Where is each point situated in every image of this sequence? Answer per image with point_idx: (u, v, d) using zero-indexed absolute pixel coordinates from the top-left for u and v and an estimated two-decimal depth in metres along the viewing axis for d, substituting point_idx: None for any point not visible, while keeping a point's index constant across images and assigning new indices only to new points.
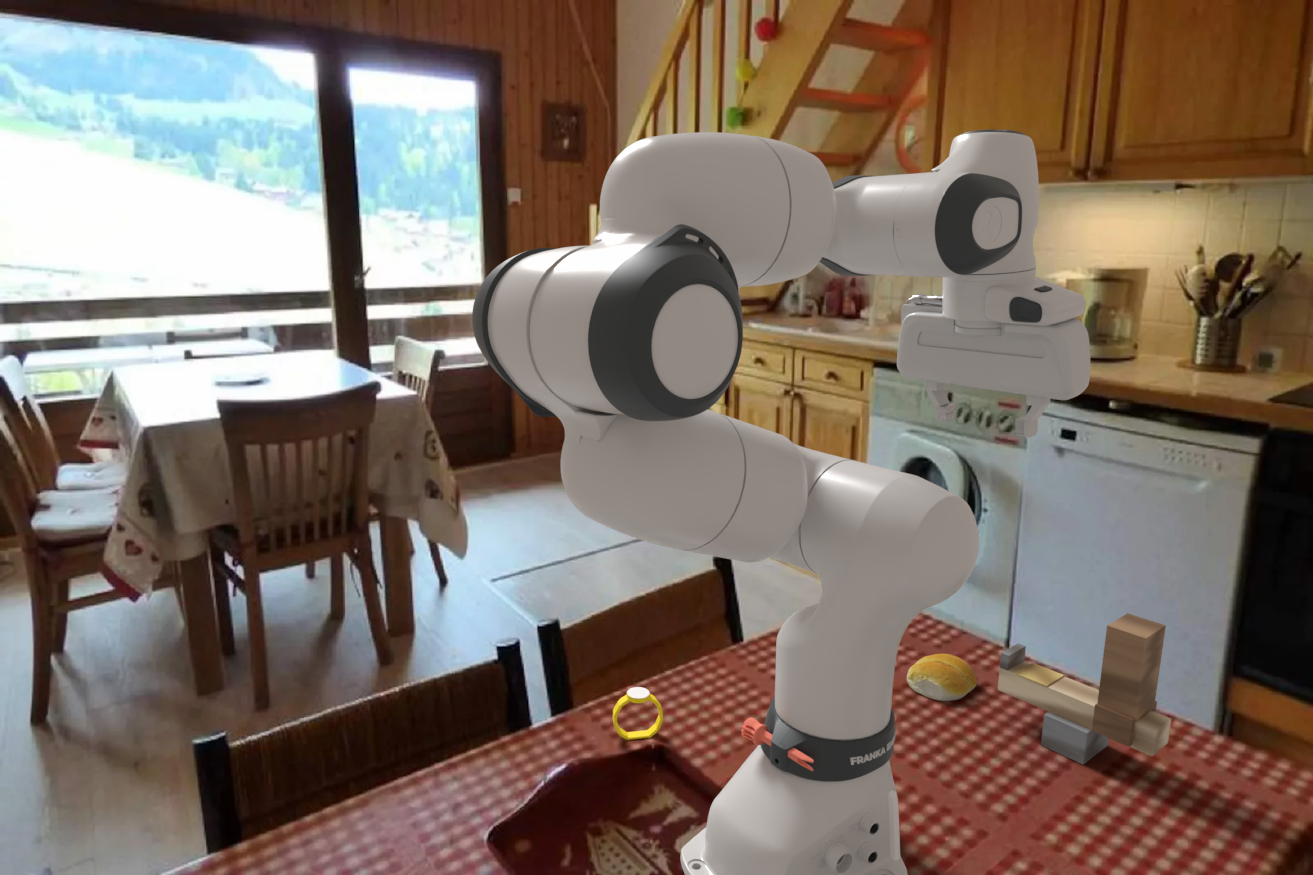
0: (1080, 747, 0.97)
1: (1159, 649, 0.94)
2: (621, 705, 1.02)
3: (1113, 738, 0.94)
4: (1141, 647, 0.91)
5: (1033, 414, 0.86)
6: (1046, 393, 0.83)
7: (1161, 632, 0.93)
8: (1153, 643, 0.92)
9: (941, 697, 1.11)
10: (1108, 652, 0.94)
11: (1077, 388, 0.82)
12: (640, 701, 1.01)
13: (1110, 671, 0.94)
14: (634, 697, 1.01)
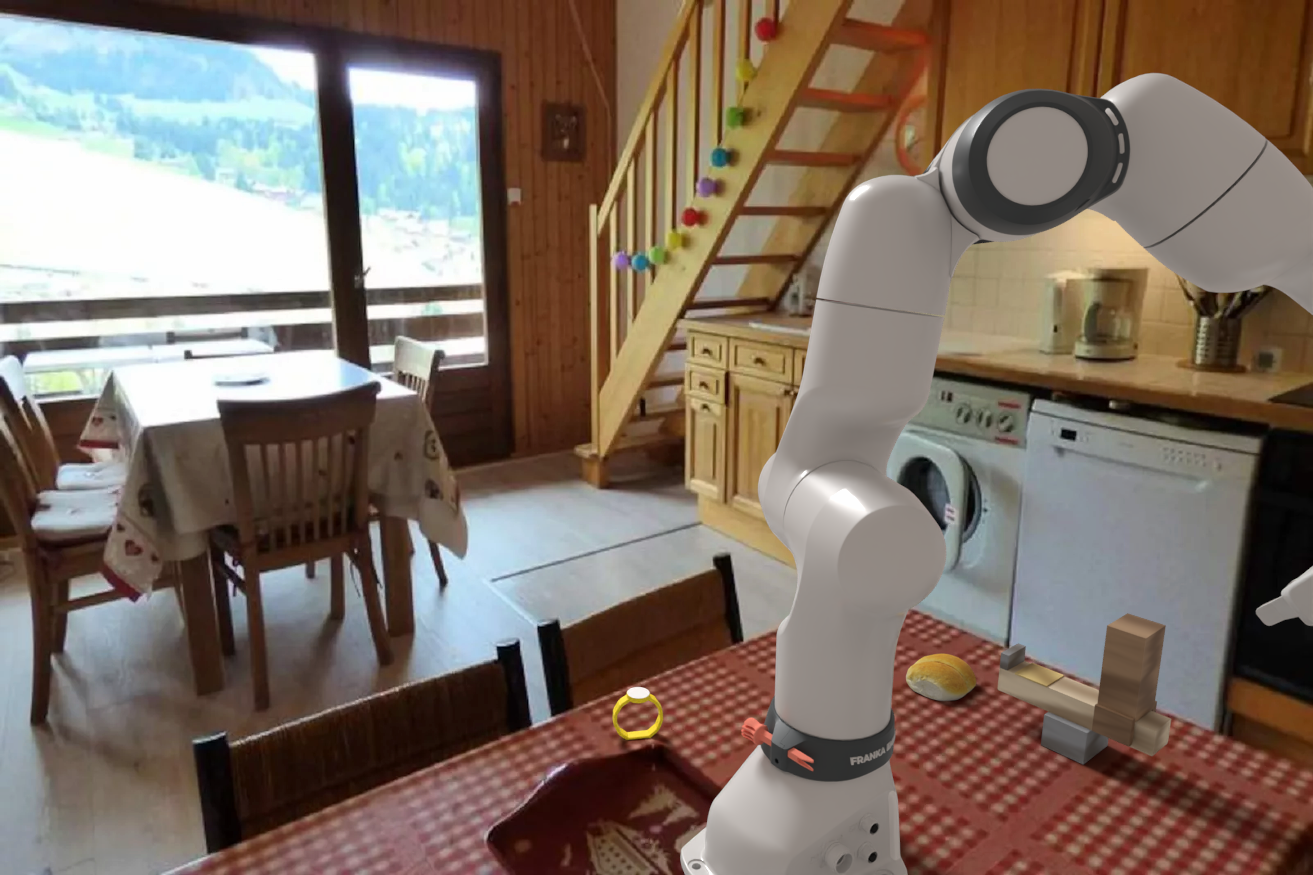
0: (1080, 747, 0.97)
1: (1159, 649, 0.94)
2: (621, 705, 1.02)
3: (1113, 738, 0.94)
4: (1141, 647, 0.91)
5: (1277, 598, 0.78)
6: None
7: (1161, 632, 0.93)
8: (1153, 643, 0.92)
9: (940, 697, 1.11)
10: (1108, 652, 0.94)
11: (1296, 598, 0.73)
12: (640, 701, 1.01)
13: (1110, 671, 0.94)
14: (634, 697, 1.01)
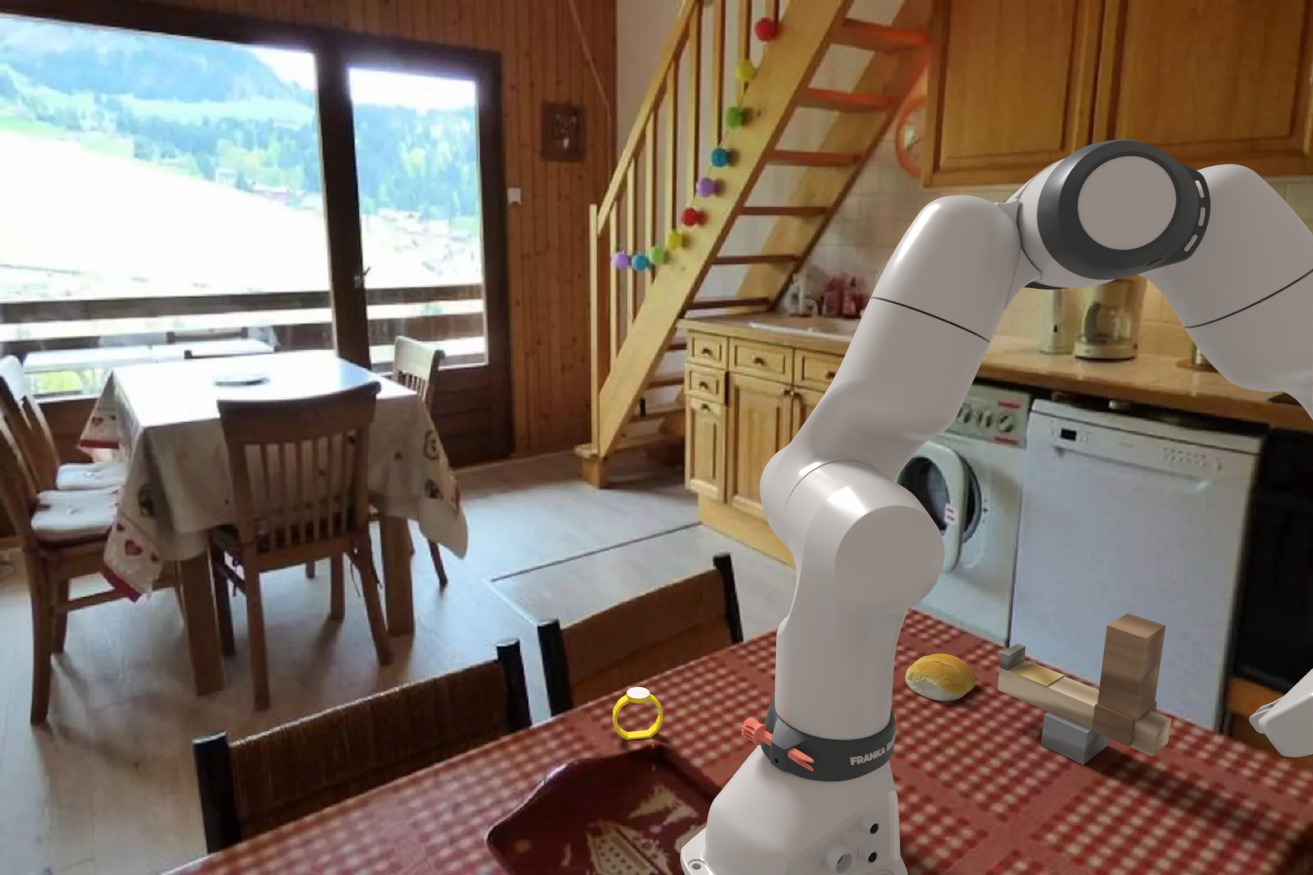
0: (1080, 747, 0.97)
1: (1159, 649, 0.94)
2: (621, 705, 1.02)
3: (1113, 738, 0.94)
4: (1141, 647, 0.91)
5: (1269, 709, 0.83)
6: (1267, 712, 0.78)
7: (1161, 632, 0.93)
8: (1153, 643, 0.92)
9: (940, 697, 1.11)
10: (1108, 652, 0.94)
11: (1272, 730, 0.76)
12: (640, 701, 1.01)
13: (1110, 671, 0.94)
14: (634, 697, 1.01)
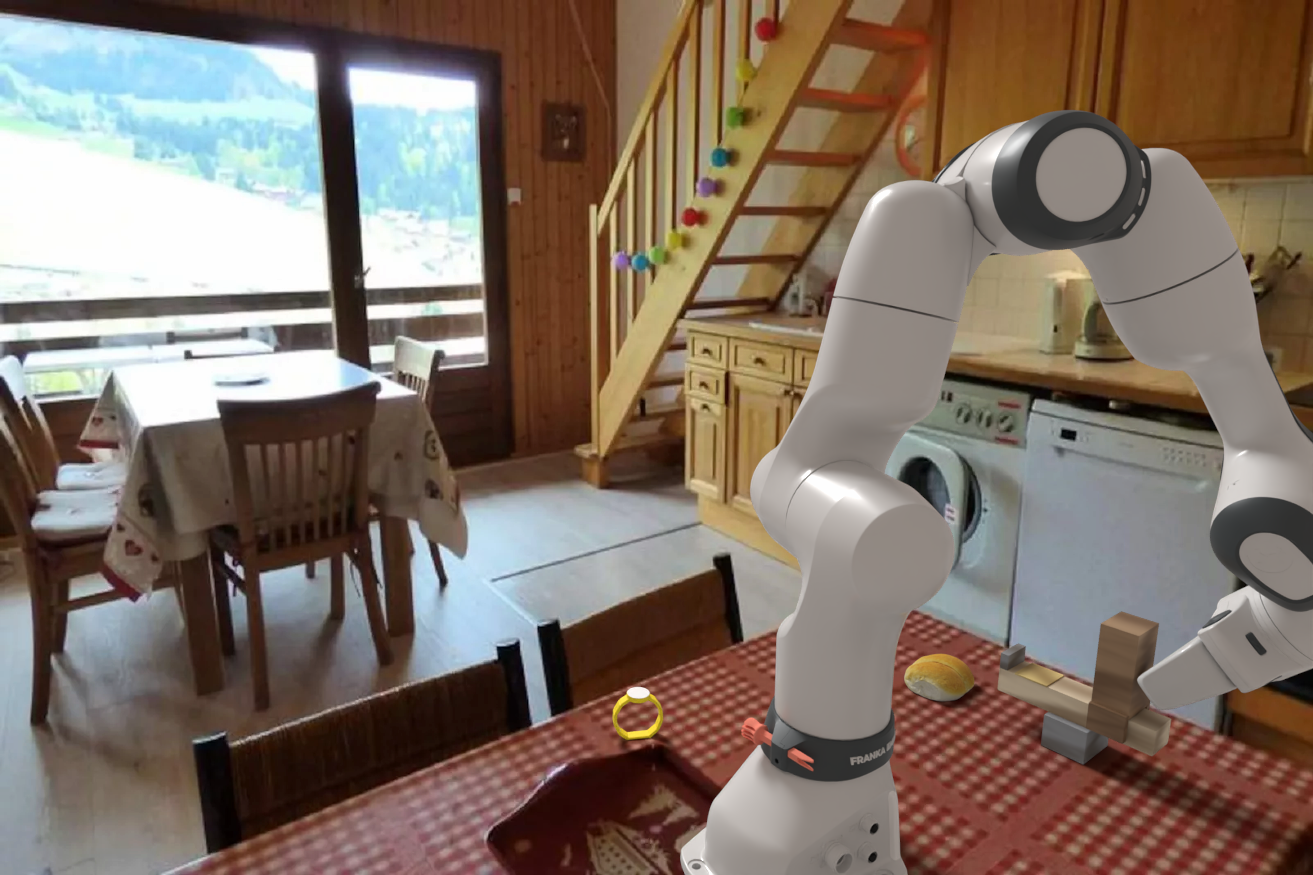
0: (1080, 747, 0.97)
1: (1152, 647, 0.94)
2: (621, 705, 1.02)
3: (1107, 735, 0.95)
4: (1134, 645, 0.92)
5: None
6: None
7: (1154, 630, 0.94)
8: (1147, 641, 0.93)
9: (939, 697, 1.11)
10: (1102, 650, 0.94)
11: (1147, 686, 0.83)
12: (640, 701, 1.01)
13: (1103, 669, 0.95)
14: (634, 697, 1.01)
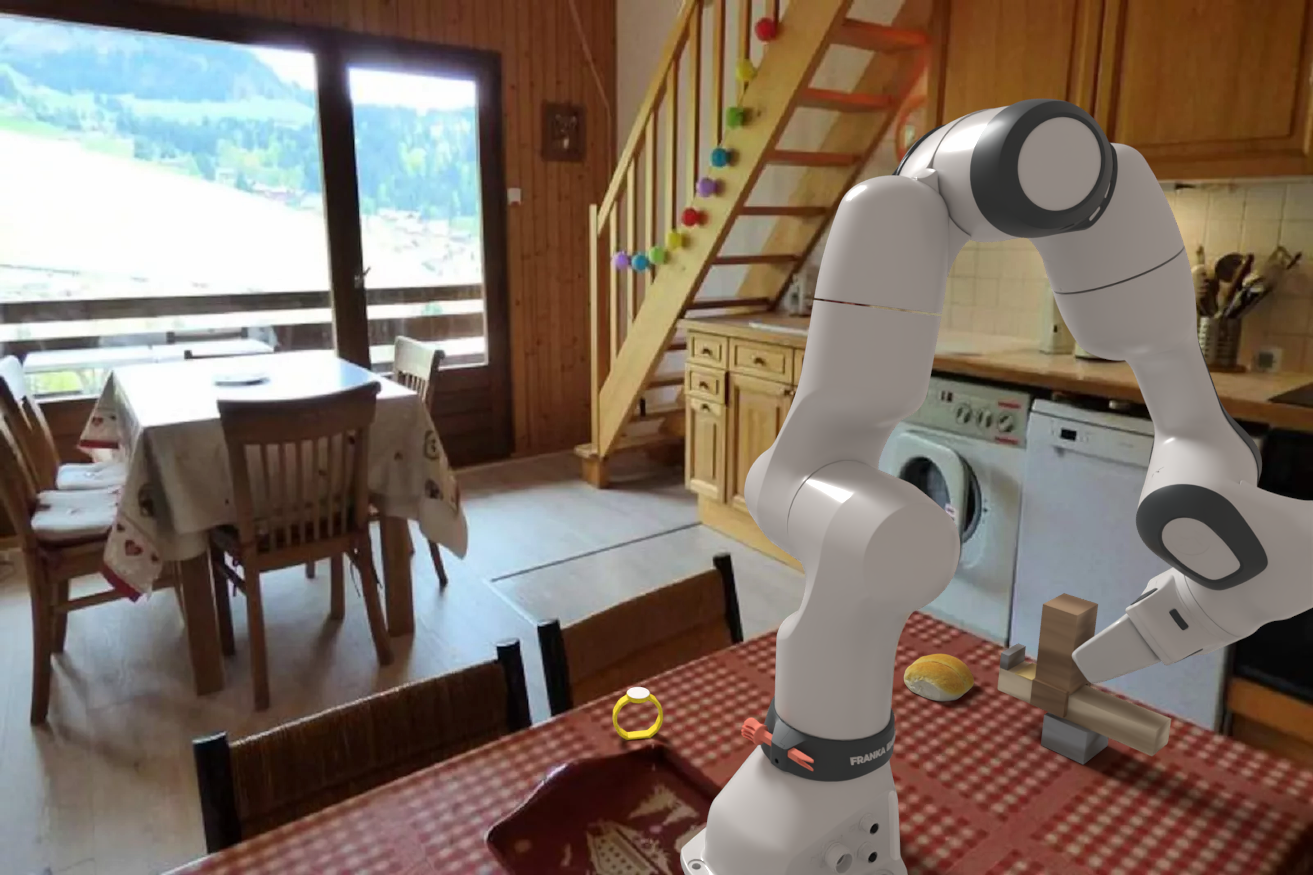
0: (1080, 747, 0.97)
1: (1092, 626, 0.99)
2: (621, 705, 1.02)
3: (1049, 710, 1.00)
4: (1073, 624, 0.97)
5: None
6: None
7: (1093, 610, 0.99)
8: (1086, 620, 0.98)
9: (938, 697, 1.11)
10: (1044, 629, 0.99)
11: (1080, 660, 0.88)
12: (640, 701, 1.01)
13: (1046, 647, 1.00)
14: (634, 697, 1.01)
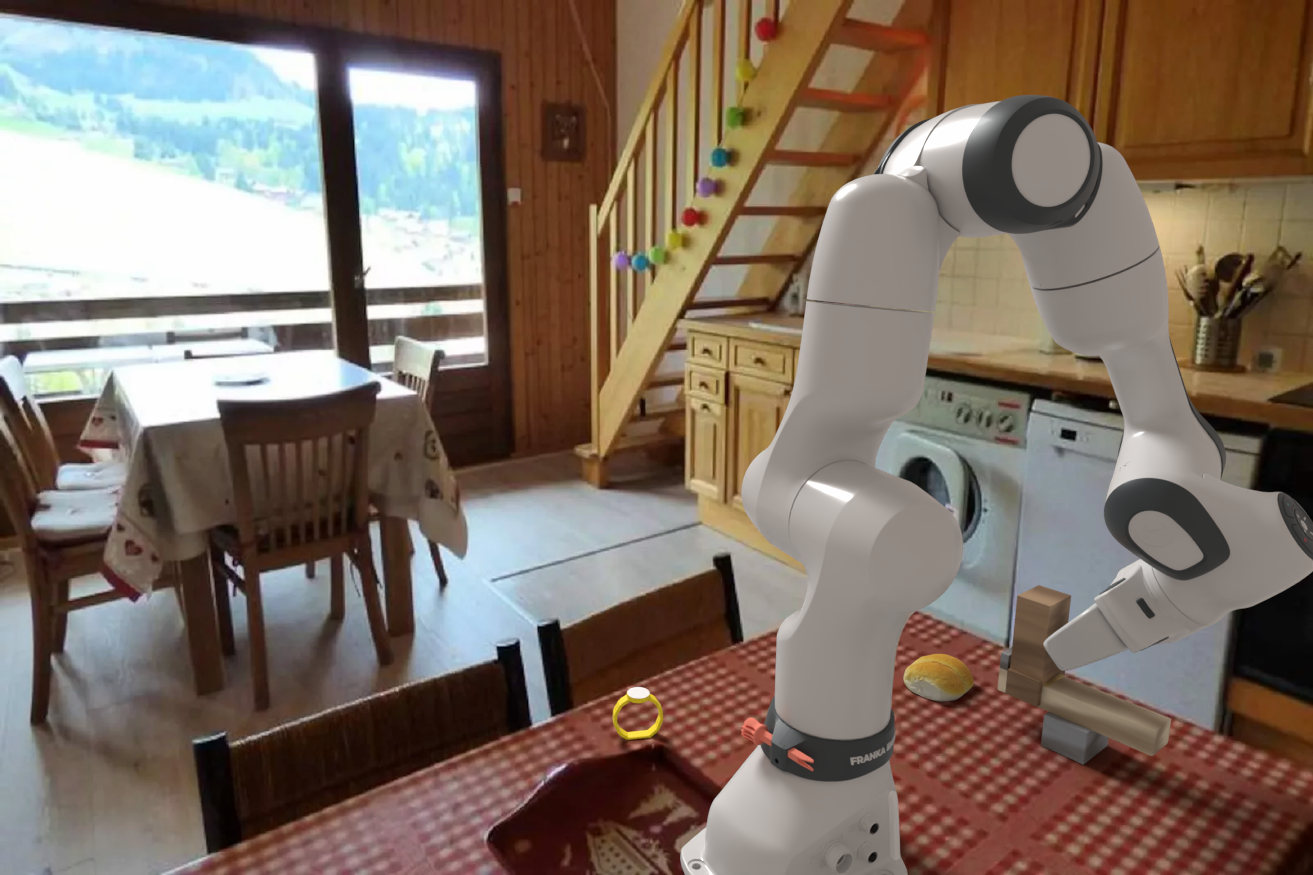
0: (1080, 747, 0.97)
1: (1065, 617, 1.02)
2: (621, 705, 1.02)
3: (1023, 699, 1.02)
4: (1046, 615, 0.99)
5: None
6: None
7: (1066, 601, 1.01)
8: (1059, 611, 1.00)
9: (938, 697, 1.11)
10: (1018, 620, 1.02)
11: (1051, 648, 0.91)
12: (640, 701, 1.01)
13: (1020, 638, 1.02)
14: (634, 697, 1.01)
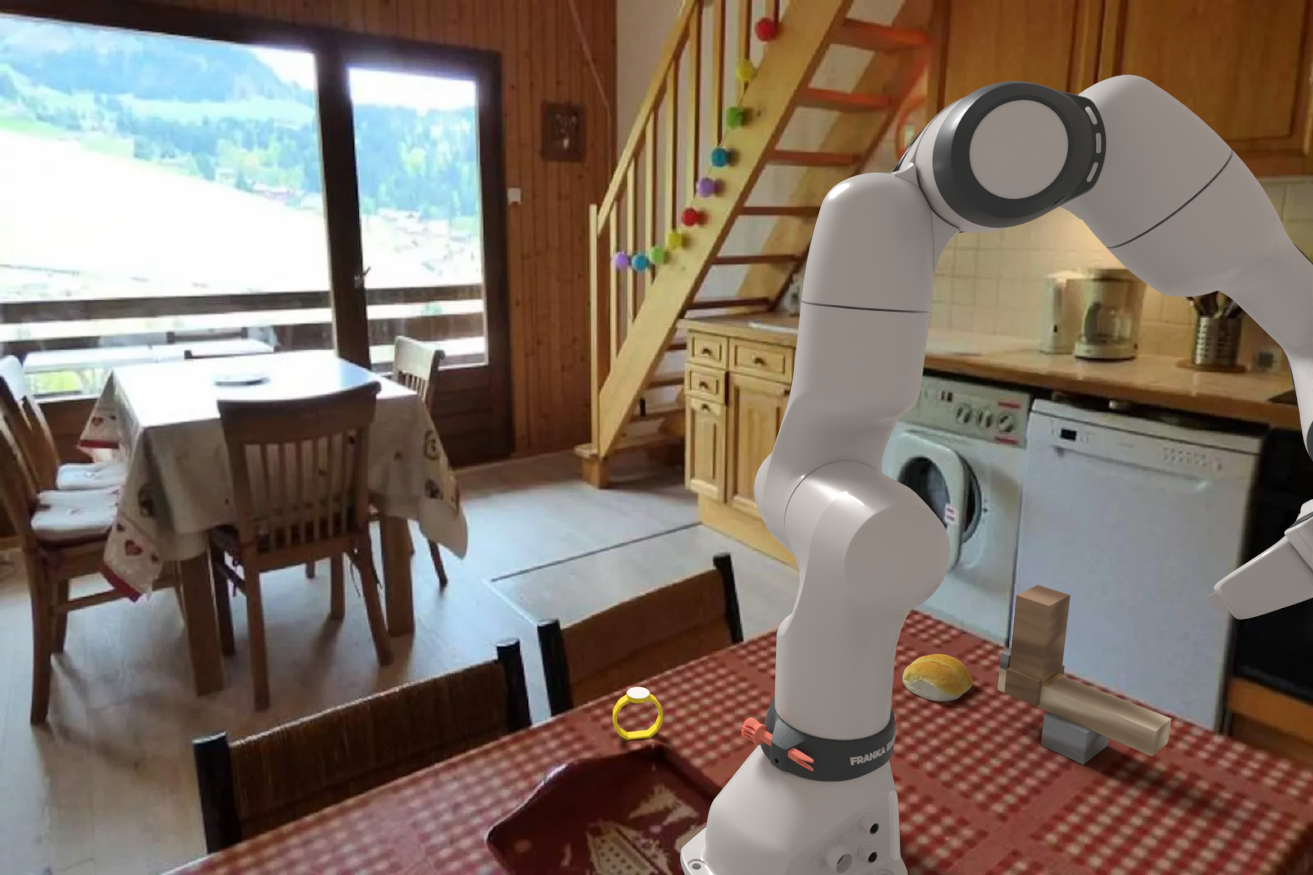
0: (1080, 747, 0.97)
1: (1064, 617, 1.02)
2: (621, 705, 1.02)
3: (1022, 699, 1.02)
4: (1045, 615, 0.99)
5: None
6: None
7: (1066, 601, 1.01)
8: (1058, 611, 1.00)
9: (937, 698, 1.11)
10: (1017, 620, 1.02)
11: (1226, 592, 0.77)
12: (640, 701, 1.01)
13: (1019, 637, 1.02)
14: (634, 697, 1.01)
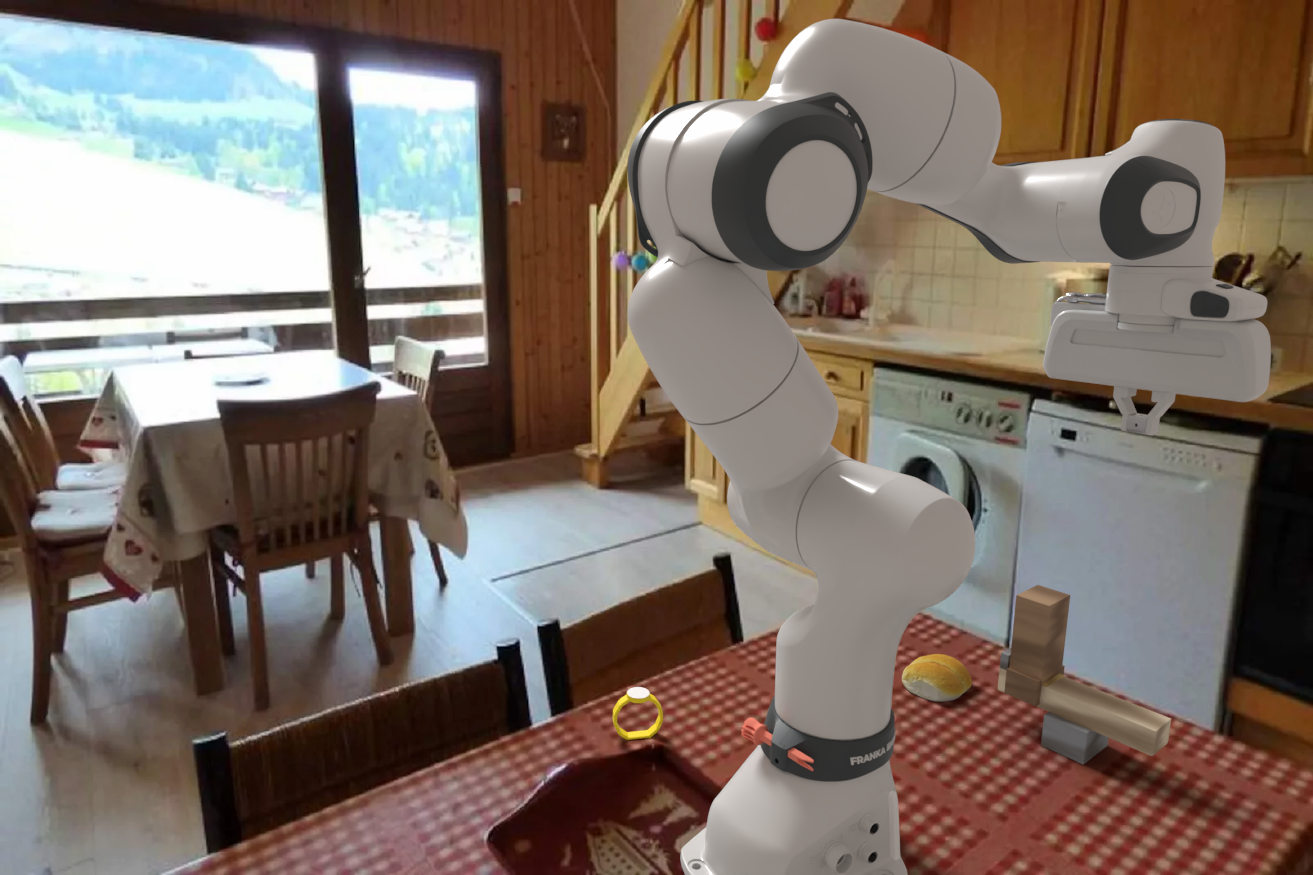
0: (1080, 747, 0.97)
1: (1064, 617, 1.02)
2: (621, 705, 1.02)
3: (1022, 699, 1.02)
4: (1045, 615, 0.99)
5: (1158, 411, 0.85)
6: (1223, 394, 0.79)
7: (1066, 601, 1.01)
8: (1058, 611, 1.00)
9: (936, 698, 1.10)
10: (1017, 620, 1.02)
11: (1259, 390, 0.78)
12: (640, 701, 1.01)
13: (1019, 637, 1.02)
14: (634, 697, 1.01)
